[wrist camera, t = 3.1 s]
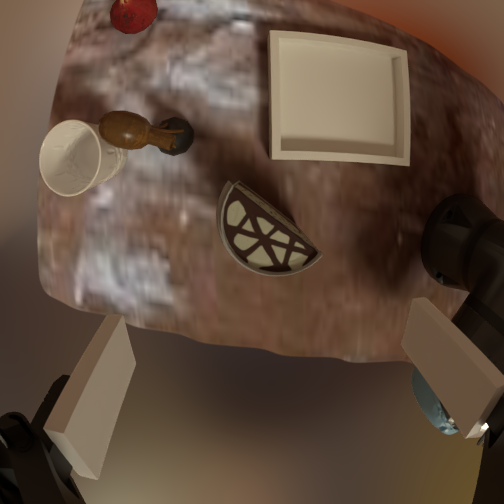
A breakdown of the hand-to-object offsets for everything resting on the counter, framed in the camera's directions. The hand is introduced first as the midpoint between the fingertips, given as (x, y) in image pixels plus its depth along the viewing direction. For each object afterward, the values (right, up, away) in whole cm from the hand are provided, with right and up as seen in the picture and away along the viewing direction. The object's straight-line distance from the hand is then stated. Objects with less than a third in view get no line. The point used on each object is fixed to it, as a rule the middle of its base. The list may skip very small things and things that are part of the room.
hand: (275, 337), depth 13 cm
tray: (+10, +23, +21) cm, 33 cm away
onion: (-15, +33, +16) cm, 40 cm away
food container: (-1, +8, +26) cm, 28 cm away
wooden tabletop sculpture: (-10, +18, +22) cm, 30 cm away
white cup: (-20, +16, +22) cm, 34 cm away
